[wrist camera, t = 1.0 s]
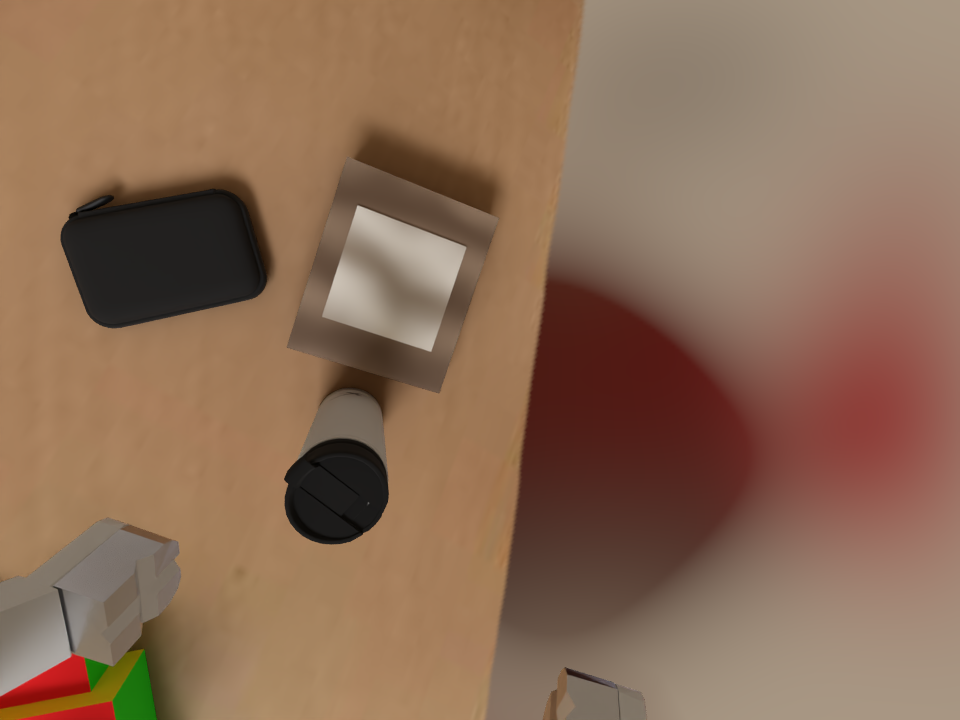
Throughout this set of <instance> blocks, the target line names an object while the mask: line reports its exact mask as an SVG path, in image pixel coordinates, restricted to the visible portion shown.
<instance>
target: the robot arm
mask: <svg viewBox="0 0 960 720" xmlns="http://www.w3.org/2000/svg"><path fill="white" fill-rule="evenodd" d="M178 554H179V544H178V541H175V540H172V539H169V538H166V537H163V536H160V535H157V534H155V533H152V532H149V531H146V530H143V529H140V528H137V527H134V526H132V525H129V524H126V523H123V522H120V521H117V520H114V519H111V518H105V519H103V520H100V521H98V522H96V523H95V524H93V525H92V526H91V527H90V528H88V529H87V530H86V531H85V532H83V533H82V534H81V535H79V536H78V537H77V538H76V539H74V540H73V541H72V542H71V543H69V544H68V545H67V546H66V547H64V548H63V549H62V550H60V551H59V552H58V553H57V554H55V555H54V556H53V557H52V558H50V559H49V560H48V561H46V562H45V563H44V564H43V565H41V566H40V567H39V568H38V569H36V570H35V571H34V572H33V573H31V574H30V575H29V576H27V577H26V578H25V577H22V576H16V577H14V578H11V579H8V580H5V581H2V582H0V696H2V695H4V694H5V693H7V692H9V691H11V690H13V689H14V688H16V687H18V686H20V685H22V684H23V683H25V682H27V681H29V680H30V679H32V678H34V677H36V676H38V675H39V674H41V673H43V672H45V671H47V670H48V669H50V668H52V667H54V666H56V665H57V664H59V663H61V662H63V661H65V660H66V659H68V658H70V657H71V656H72V654H75V655H78V656H81V657H84V658H88V659H91V660H94V661H97V662H100V663H104V664H107V665H110V666H113V667H114V665H115V664H116V663H117V662H118V661H119V660H120V659H121V658H122V657H123V655H124V654H125V653H126V652H127V651H128V650H129V649H130V648H131V646H132V645H133V644H134V643H135V642H136V641H137V640H138V639H139V637H140V636H141V634H142V626H143V623H144V622H146V621H148V620H151V619H153V618H155V617H157V616H159V615H160V614H161V612H162V611H163V610H164V609H165V608H166V607H167V605H168V604H169V603H170V601H171V600H172V598H173V596H174V594H175V592H176V591H177V589H178V586H179V582H180V578H181V572H180V568H179V566H178V565H177V563H176V562H175V561H174V559H175V558H176V557H177V556H178ZM71 653H72V654H71ZM543 720H647V715H646V707H645V699H644V697H643V695H642V693H641V692H640V691H637V690H634V689H630V688H627V687H624V686H621V685H617V684H614V683H613V682H611V681H607V680H604V679H601V678H598V677H595V676H592V675H588V674H585V673H581V672H578V671H575V670H572V669H569V668H566V667H565V668H564V669H562V670H561V673H560V675H559V677H558V686H557V690H555V691H552V692H551V694H550V696H549V699H548V701H547V704H546V708H545V712H544V716H543Z"/></svg>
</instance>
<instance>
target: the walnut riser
mask: <svg viewBox="0 0 960 720" xmlns="http://www.w3.org/2000/svg"><path fill="white" fill-rule="evenodd" d="M498 220H499V218H498V217H495V216H493V215H490V214H488V213H485V212H483V211H481V210H478V209H476V208H473V207H471V206H468V205H466V204H463V203H461V202H458V201H456V200H453V199H451V198H448V197H446V196H443V195H441V194H439V193H436V192H434V191H431V190H429V189H426V188H424V187H421V186H419V185H416V184H414V183H411V182H409V181H406V180H404V179H401V178H399V177H397V176H394V175H392V174H389V173H387V172H384V171H382V170H379V169H377V168H374V167H372V166H369V165H367V164H364V163H362V162H359V161H357V160H355V159H352V158H350V157H347V159H346V162H345V165H344V168H343V171H342V175H341V178H340V181H339V184H338V187H337V190H336V193H335V197H334V200H333V203H332V206H331V209H330V212H329V216H328V219H327V222H326V225H325V228H324V231H323V234H322V238H321V241H320V244H319V247H318V250H317V253H316V257H315V260H314V263H313V266H312V269H311V272H310V275H309V279H308V282H307V285H306V288H305V291H304V294H303V298H302V301H301V304H300V307H299V310H298V313H297V316H296V320H295V323H294V326H293V329H292V332H291V335H290V339H289V342H288V345H287V348H290V349H293V350H297V351H300V352H303V353H306V354H310V355H313V356H316V357H320V358H323V359H326V360H330V361H333V362H336V363H340V364H343V365H346V366H350V367H353V368H356V369H359V370H363V371H366V372H369V373H373V374H376V375H379V376H383V377H386V378H389V379H393V380H396V381H399V382H402V383H406V384H409V385H412V386H416V387H419V388H422V389H426V390H429V391H432V392H436V393H440V390H441V387H442V384H443V381H444V378H445V375H446V372H447V369H448V366H449V363H450V360H451V357H452V355H453V352H454V349H455V346H456V343H457V340H458V337H459V334H460V331H461V328H462V325H463V322H464V319H465V317H466V314H467V311H468V308H469V305H470V302H471V299H472V296H473V293H474V290H475V287H476V284H477V281H478V278H479V276H480V273H481V270H482V267H483V264H484V261H485V258H486V255H487V252H488V249H489V246H490V243H491V240H492V238H493V235H494V232H495V229H496V226H497V223H498Z"/></svg>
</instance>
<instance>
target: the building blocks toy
mask: <svg viewBox="0 0 960 720" xmlns="http://www.w3.org/2000/svg"><path fill="white" fill-rule="evenodd" d="M71 654H72V653H71ZM0 720H157V717H156V711H155V706H154V700H153V695H152V689H151V683H150V678H149V672H148V666H147V661H146V655H145V650H144V649H141V650H135V651H130V652H126V653H125V654H124V655H123V657H122V658H121V659H120V660H119V661H118V662H117V663H116V664H115V665H114V667H113V666H110V665H107V664H104V663H100V662H97V661H94V660H91V659H88V658H84V657H81V656H78V655H75V654H72V656H71V657H70V658H68V659H66V660H65V661H63V662H61V663H59V664H57V665H56V666H54V667H52V668H50V669H48V670H47V671H45V672H43V673H41V674H39V675H38V676H36V677H34V678H32V679H30V680H29V681H27V682H25V683H23V684H22V685H20V686H18V687H16V688H14V689H13V690H11V691H9V692H7V693H5V694H4V695H2V696H0Z"/></svg>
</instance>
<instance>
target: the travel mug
mask: <svg viewBox="0 0 960 720" xmlns="http://www.w3.org/2000/svg"><path fill="white" fill-rule="evenodd" d="M284 480H285V481H286V482H287V483H288V487H287V490H286V494H285V510H286V515H287V517H288V519H289V521H290V523H291V525H292V526H293V527H294V528H295V530H296V531H297V532H299V533H300V534H301V535H302V536H304V537H306V538H308V539H309V540H311V541H315V542H318V543H322V544H342V543H346V542H351V541H352V540H354V539H356V538H358V537H359V536H361V535H363V533H364V532H367V531H369V530H370V529H371V528H372V527H373V526H374V525H375V524H376V523H377V522H378V520H379V519H380V518H381V516H382V513H383V512H384V509H385V507H386V505H387V503H388V495H389V491H388V471H387V460H386V449H385V438H384V428H383V417H382V411H381V408H380V405H379V404H378V402H377V400H376V399H375V398H374V397H373V396H372V395H370V394H369V393H368V392H366V391H363V390H361V389H357V388H343V389H340V390H337V391H335V392H333V393H331V394H330V395H328V396H327V397H326V398H325V399H324V400H323V402H322V403H321V405H320V407H319V409H318V411H317V414H316V416H315V419H314V421H313V423H312V426H311V428H310V431H309V433H308V436H307V438H306V440H305V443H304V445H303V448H302V450H301V453H300V455H299V457H298V460H297V461H296V462H295V463H294V464H293V465H292V466H291V467H290V469H289V470H288V471H287V473H286V476H285V478H284Z"/></svg>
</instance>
